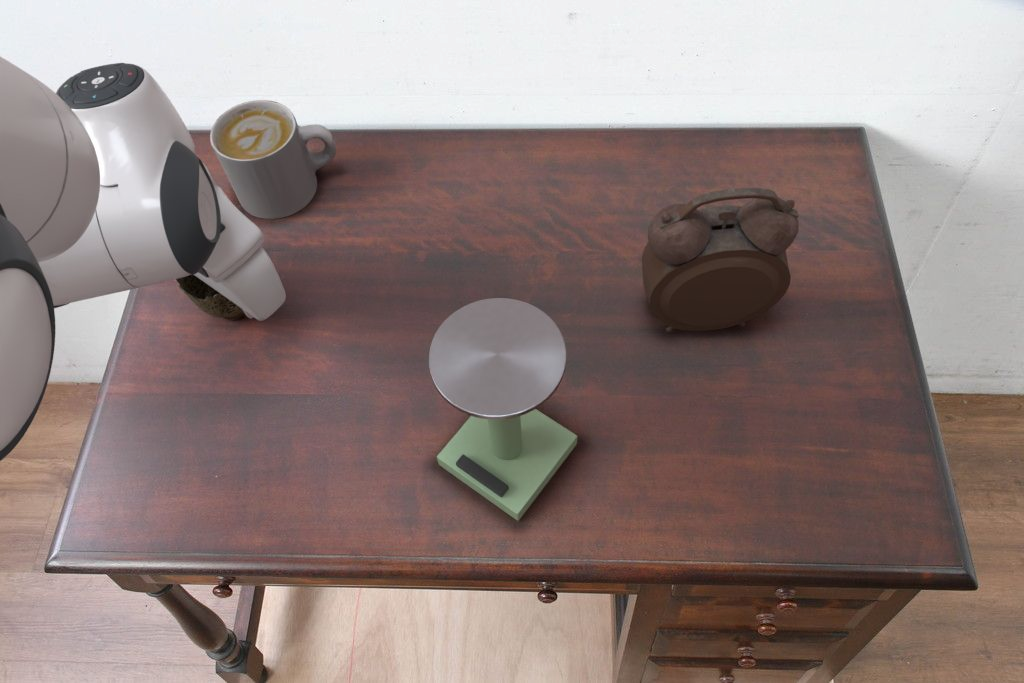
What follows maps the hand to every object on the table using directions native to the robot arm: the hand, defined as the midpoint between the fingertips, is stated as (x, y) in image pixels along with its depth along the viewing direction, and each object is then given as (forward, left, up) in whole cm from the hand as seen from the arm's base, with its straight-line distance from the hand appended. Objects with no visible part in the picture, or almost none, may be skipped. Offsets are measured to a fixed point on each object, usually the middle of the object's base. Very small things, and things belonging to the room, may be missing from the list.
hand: (227, 293), depth 88 cm
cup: (0, 0, -3) cm, 3 cm away
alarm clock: (+30, -43, -3) cm, 52 cm away
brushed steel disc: (+4, -36, +15) cm, 39 cm away
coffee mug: (+17, +8, -3) cm, 19 cm away
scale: (+4, -36, -3) cm, 36 cm away
